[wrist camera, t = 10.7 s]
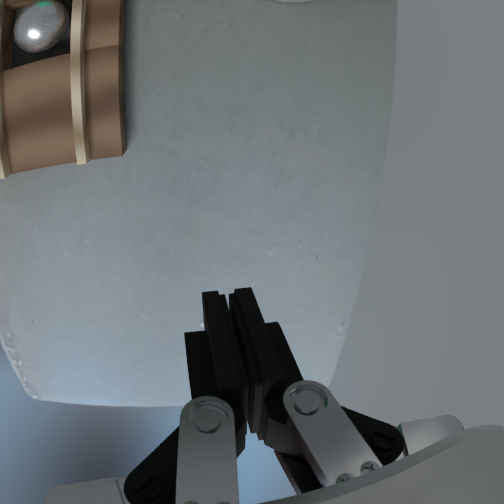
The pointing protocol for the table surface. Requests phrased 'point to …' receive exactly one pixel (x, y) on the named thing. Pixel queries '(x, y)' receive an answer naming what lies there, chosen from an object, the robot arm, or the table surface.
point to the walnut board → (64, 92)
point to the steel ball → (41, 25)
